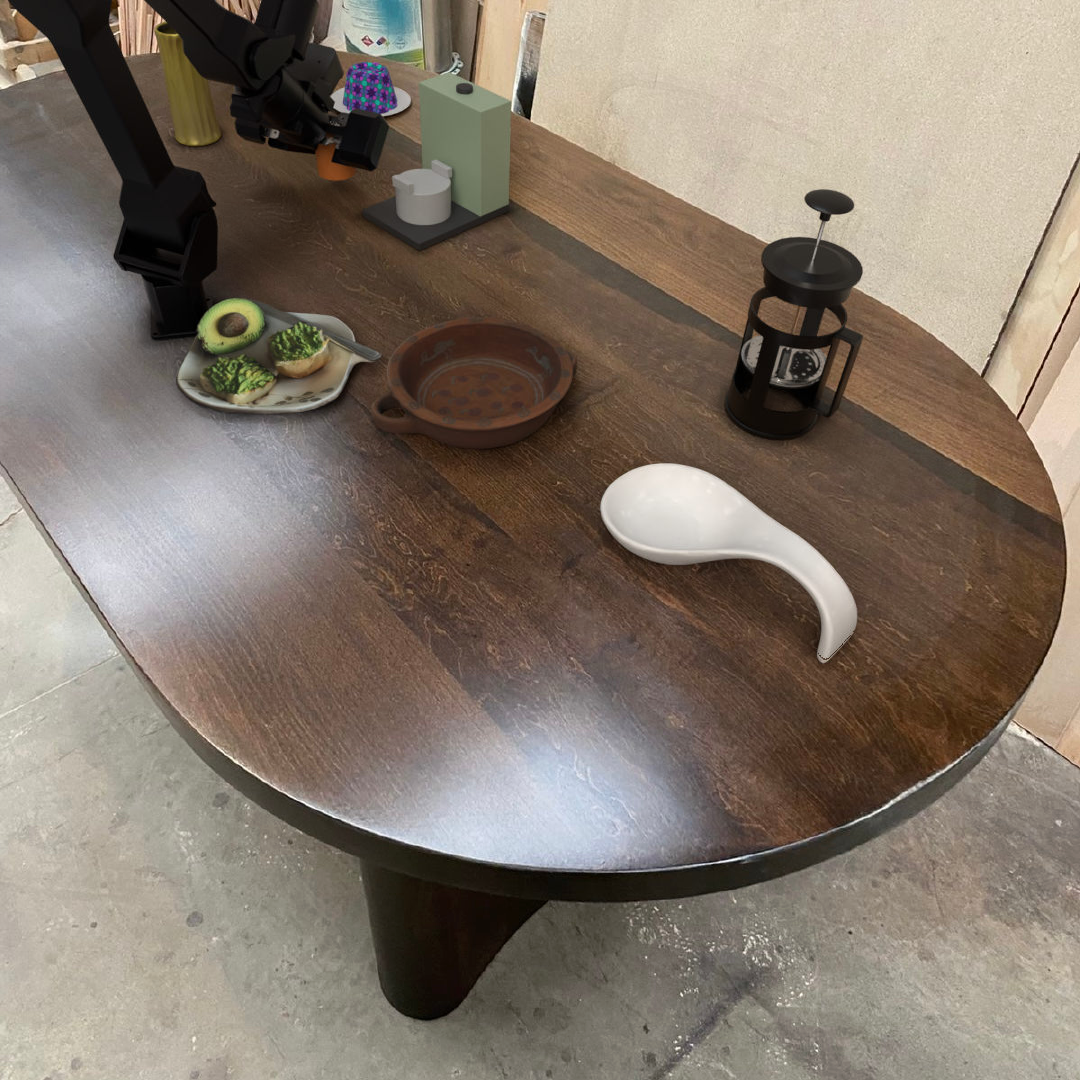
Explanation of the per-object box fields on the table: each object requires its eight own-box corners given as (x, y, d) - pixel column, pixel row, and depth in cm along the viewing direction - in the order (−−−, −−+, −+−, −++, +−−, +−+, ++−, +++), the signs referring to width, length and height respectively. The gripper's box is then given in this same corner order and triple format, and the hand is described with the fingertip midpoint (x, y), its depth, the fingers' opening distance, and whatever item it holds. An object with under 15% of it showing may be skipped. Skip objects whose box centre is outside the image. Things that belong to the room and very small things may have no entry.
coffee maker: (419, 251, 116) (413, 130, 105) (362, 216, 121) (351, 98, 110) (508, 211, 123) (511, 95, 113) (451, 180, 129) (449, 66, 118)
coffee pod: (365, 174, 123) (361, 136, 119) (328, 185, 120) (324, 145, 117) (344, 159, 126) (340, 120, 122) (308, 168, 123) (303, 129, 120)
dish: (620, 425, 95) (626, 385, 92) (417, 497, 87) (415, 455, 83) (532, 333, 105) (534, 293, 102) (342, 390, 97) (337, 348, 93)
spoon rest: (570, 536, 84) (577, 476, 79) (652, 472, 91) (663, 413, 85) (802, 694, 74) (827, 637, 69) (876, 609, 80) (904, 551, 75)
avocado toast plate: (395, 325, 105) (392, 288, 102) (363, 431, 93) (359, 393, 89) (218, 310, 105) (210, 272, 102) (164, 414, 93) (152, 375, 89)
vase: (201, 123, 137) (178, 15, 126) (230, 136, 134) (210, 27, 124) (166, 137, 133) (140, 27, 123) (196, 151, 131) (172, 39, 120)
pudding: (425, 99, 146) (424, 63, 142) (385, 128, 138) (382, 91, 134) (357, 82, 149) (354, 46, 145) (314, 110, 141) (309, 73, 137)
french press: (700, 408, 98) (747, 194, 81) (748, 368, 103) (802, 158, 86) (802, 461, 93) (874, 245, 76) (847, 416, 98) (924, 204, 81)
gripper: (375, 44, 105) (425, 109, 120) (230, 13, 109) (296, 79, 124) (345, 143, 106) (399, 195, 121) (202, 108, 110) (271, 163, 125)
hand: (341, 155), depth 123 cm, fingers closed on coffee pod, 5 cm apart
